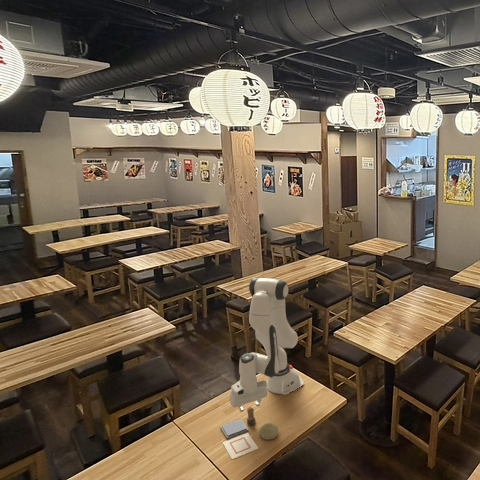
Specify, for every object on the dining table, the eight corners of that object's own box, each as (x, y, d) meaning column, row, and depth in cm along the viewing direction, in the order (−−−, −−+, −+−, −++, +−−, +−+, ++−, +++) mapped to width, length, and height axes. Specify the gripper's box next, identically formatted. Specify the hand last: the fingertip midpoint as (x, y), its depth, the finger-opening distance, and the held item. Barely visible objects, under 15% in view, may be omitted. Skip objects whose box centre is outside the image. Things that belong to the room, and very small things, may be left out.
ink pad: (241, 420, 214) (241, 418, 214) (248, 431, 206) (248, 428, 206) (220, 428, 209) (220, 425, 209) (227, 439, 201) (226, 436, 201)
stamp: (253, 418, 215) (252, 404, 212) (256, 423, 211) (256, 408, 209) (245, 421, 213) (244, 406, 211) (249, 426, 209) (248, 411, 207)
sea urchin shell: (254, 429, 204) (264, 416, 205) (265, 434, 208) (274, 422, 209) (262, 441, 196) (272, 427, 197) (273, 446, 200) (282, 433, 200)
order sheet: (247, 433, 205) (247, 432, 205) (258, 448, 194) (258, 448, 194) (222, 442, 199) (222, 442, 199) (231, 459, 189) (231, 458, 189)
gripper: (263, 376, 213) (264, 399, 216) (228, 387, 205) (229, 410, 208) (269, 382, 207) (270, 405, 210) (233, 393, 199) (234, 418, 202)
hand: (249, 408), depth 209 cm, fingers open, 8 cm apart
